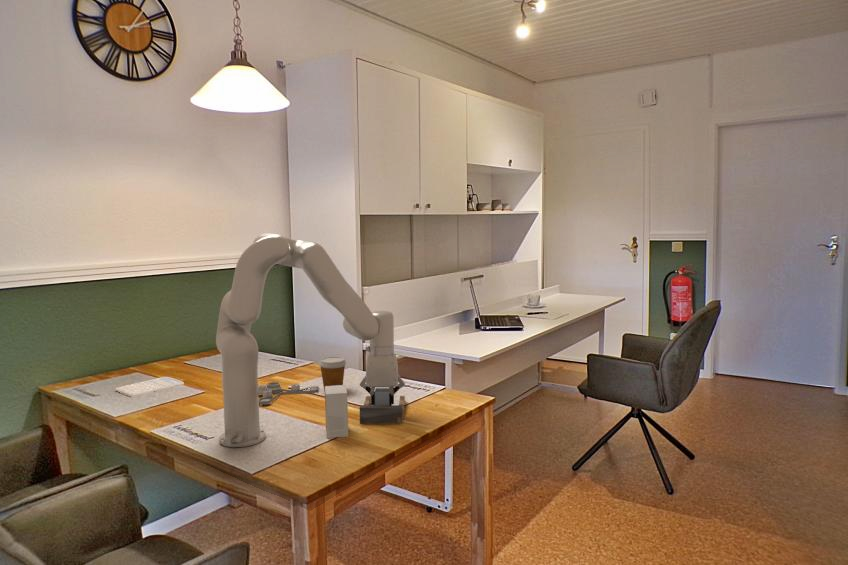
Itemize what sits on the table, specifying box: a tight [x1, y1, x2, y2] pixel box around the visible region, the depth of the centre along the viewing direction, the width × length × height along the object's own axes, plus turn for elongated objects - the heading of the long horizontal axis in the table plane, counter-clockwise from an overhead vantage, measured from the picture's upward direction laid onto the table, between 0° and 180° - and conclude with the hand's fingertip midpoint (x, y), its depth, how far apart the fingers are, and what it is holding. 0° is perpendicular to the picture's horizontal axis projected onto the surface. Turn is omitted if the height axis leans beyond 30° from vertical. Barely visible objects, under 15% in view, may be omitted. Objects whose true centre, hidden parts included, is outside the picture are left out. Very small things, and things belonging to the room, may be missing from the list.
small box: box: [324, 384, 349, 439], centre depth 170 cm, size 8×6×13 cm
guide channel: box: [359, 395, 406, 425], centre depth 188 cm, size 21×13×5 cm, turn 0°
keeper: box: [375, 387, 390, 405], centre depth 186 cm, size 4×4×6 cm
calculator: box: [115, 376, 185, 397], centre depth 216 cm, size 13×20×2 cm, turn 142°
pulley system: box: [258, 381, 320, 405], centre depth 207 cm, size 27×5×15 cm
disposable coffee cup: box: [318, 356, 347, 393], centre depth 209 cm, size 10×10×12 cm
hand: (382, 405), depth 186 cm, fingers closed on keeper, 4 cm apart
